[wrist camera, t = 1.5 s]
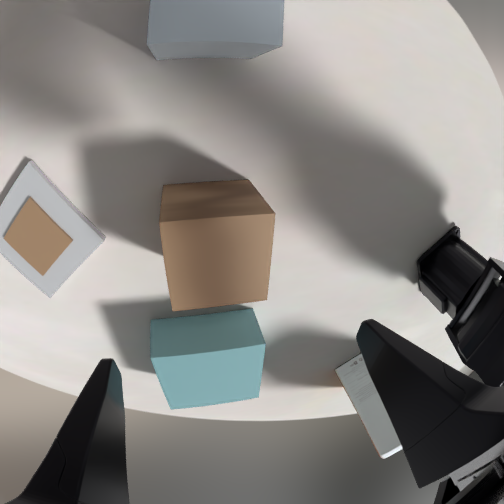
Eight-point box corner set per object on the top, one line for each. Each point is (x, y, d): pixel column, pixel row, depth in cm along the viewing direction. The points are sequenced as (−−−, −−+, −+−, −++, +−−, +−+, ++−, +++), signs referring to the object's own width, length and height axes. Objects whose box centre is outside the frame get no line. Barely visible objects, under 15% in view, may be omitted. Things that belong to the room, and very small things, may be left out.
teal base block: (251, 305, 22) (265, 343, 19) (248, 363, 26) (258, 397, 23) (150, 317, 20) (150, 357, 17) (167, 374, 25) (170, 409, 21)
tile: (32, 159, 12) (27, 163, 11) (105, 236, 16) (103, 242, 15) (-13, 232, 13) (-18, 237, 12) (51, 293, 17) (49, 300, 16)
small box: (333, 368, 31) (379, 457, 21) (377, 341, 31) (431, 424, 20) (345, 387, 36) (383, 460, 25) (383, 364, 35) (426, 433, 25)
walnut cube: (248, 179, 16) (275, 213, 12) (245, 251, 19) (267, 299, 15) (163, 184, 15) (158, 222, 11) (170, 258, 18) (172, 311, 14)
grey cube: (254, -15, 10) (286, -50, 6) (250, 59, 13) (282, 46, 8) (162, -17, 9) (159, -57, 5) (156, 60, 11) (147, 44, 7)
